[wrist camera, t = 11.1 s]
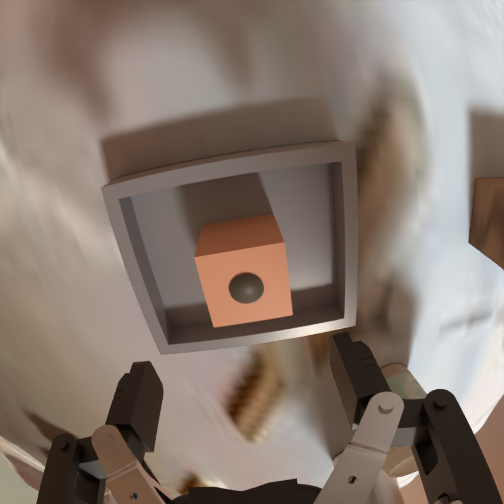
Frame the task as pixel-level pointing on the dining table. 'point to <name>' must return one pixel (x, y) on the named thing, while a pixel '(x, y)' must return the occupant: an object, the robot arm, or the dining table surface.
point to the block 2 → (488, 218)
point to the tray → (231, 208)
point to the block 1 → (244, 270)
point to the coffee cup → (407, 388)
